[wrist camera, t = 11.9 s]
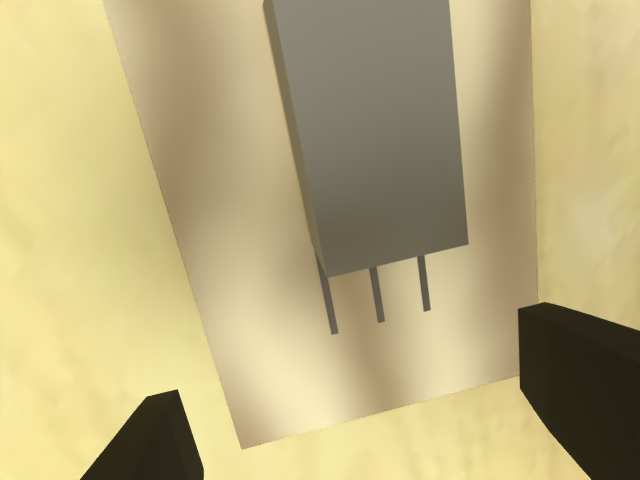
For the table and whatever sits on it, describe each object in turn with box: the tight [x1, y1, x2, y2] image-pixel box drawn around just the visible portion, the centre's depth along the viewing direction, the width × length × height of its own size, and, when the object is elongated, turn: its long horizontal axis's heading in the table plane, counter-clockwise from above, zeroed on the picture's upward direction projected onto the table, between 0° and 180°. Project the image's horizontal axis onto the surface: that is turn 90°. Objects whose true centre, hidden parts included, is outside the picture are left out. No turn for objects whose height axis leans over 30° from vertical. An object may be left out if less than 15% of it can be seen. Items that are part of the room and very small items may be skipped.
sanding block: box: [262, 0, 469, 278], centre depth 15 cm, size 4×8×4 cm, turn 10°
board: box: [102, 0, 538, 449], centre depth 18 cm, size 14×18×1 cm
